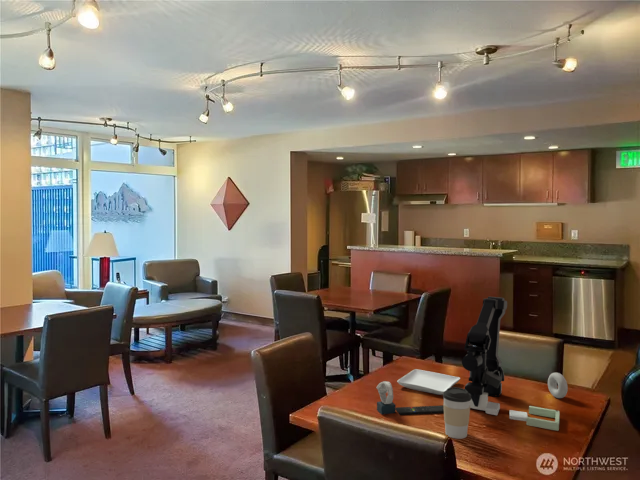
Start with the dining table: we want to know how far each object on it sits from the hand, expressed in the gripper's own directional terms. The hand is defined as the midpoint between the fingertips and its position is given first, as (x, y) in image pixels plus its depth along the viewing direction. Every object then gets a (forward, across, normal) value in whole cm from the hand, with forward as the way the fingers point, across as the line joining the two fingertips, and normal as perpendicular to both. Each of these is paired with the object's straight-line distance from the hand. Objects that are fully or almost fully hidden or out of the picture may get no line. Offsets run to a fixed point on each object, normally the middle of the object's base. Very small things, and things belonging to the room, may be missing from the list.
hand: (476, 405), depth 183 cm
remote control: (+2, -10, +16) cm, 19 cm away
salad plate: (+2, +17, +22) cm, 28 cm away
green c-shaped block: (+2, 0, -22) cm, 23 cm away
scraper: (+1, 0, -2) cm, 2 cm away
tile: (+2, 0, -14) cm, 15 cm away
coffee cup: (+2, -25, +2) cm, 25 cm away
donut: (+2, +28, -26) cm, 39 cm away
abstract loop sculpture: (+2, -18, +30) cm, 35 cm away
